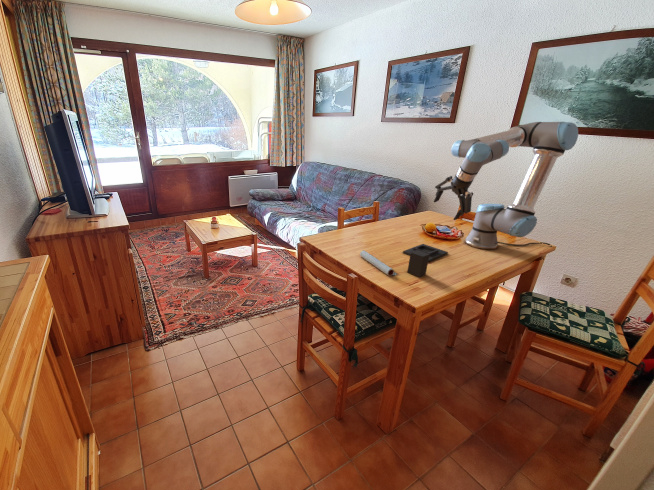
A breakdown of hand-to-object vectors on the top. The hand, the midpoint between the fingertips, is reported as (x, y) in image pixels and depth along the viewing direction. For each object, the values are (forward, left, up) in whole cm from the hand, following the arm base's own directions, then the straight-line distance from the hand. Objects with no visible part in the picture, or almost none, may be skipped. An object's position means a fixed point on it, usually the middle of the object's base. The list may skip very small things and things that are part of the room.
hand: (445, 209), depth 154 cm
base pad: (+7, +2, -23) cm, 24 cm away
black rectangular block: (+20, +25, -23) cm, 40 cm away
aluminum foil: (+35, +17, -23) cm, 45 cm away
